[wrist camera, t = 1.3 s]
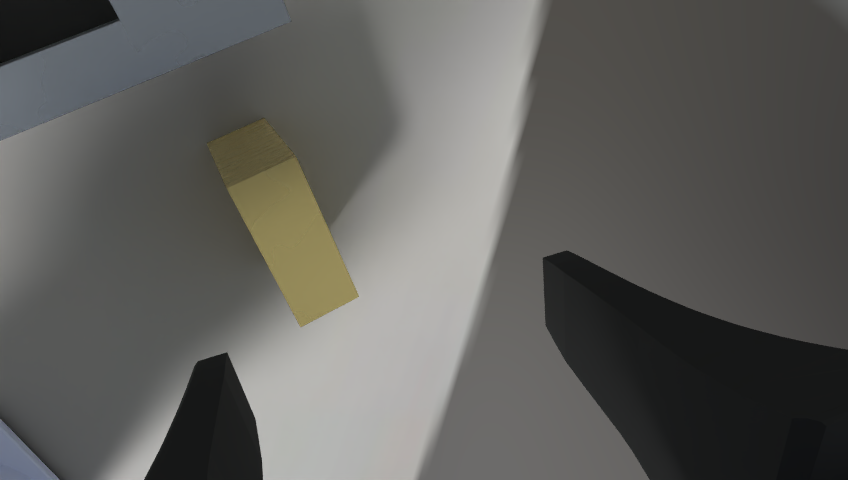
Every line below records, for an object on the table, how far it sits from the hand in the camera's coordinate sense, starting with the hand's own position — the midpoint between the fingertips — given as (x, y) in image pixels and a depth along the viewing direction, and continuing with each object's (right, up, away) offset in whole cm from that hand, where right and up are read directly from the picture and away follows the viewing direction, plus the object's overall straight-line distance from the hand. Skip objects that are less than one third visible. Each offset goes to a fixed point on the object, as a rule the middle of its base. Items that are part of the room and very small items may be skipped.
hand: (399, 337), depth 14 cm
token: (-5, +4, +8) cm, 10 cm away
